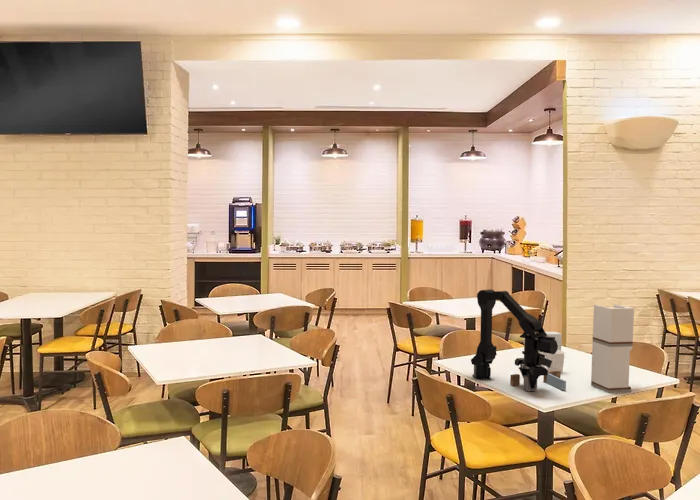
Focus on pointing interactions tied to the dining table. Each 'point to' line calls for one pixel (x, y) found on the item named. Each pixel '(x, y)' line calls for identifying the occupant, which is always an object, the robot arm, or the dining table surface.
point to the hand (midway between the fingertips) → (530, 387)
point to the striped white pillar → (612, 348)
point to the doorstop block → (528, 384)
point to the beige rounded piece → (556, 361)
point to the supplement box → (557, 338)
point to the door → (556, 382)
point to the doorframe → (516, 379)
